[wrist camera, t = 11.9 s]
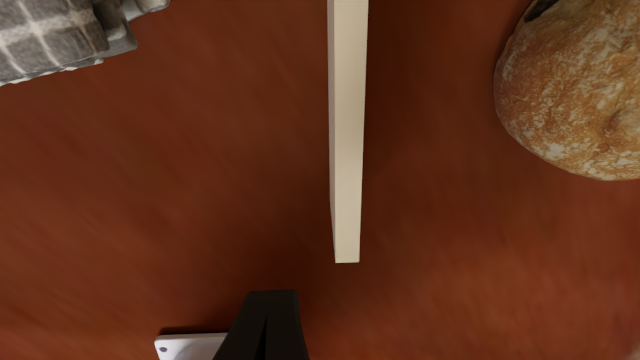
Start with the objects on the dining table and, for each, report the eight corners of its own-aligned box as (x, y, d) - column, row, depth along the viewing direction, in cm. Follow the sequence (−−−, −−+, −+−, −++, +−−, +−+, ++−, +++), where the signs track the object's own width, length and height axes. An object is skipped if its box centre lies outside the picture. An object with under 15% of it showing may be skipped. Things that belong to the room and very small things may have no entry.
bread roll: (589, -83, 17) (693, -216, 9) (802, 34, 15) (1122, -17, 8) (451, 96, 21) (450, 100, 13) (610, 203, 19) (706, 274, 12)
